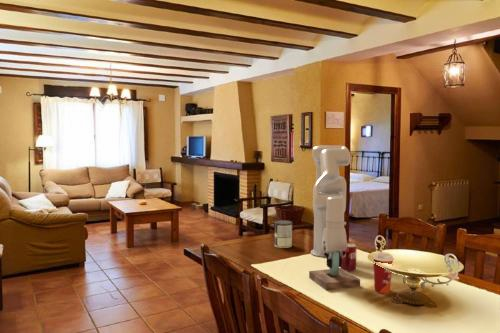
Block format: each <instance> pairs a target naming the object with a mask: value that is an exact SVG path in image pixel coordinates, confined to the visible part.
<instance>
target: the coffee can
mask: <svg viewBox="0 0 500 333" xmlns="http://www.w3.org/2000/svg"><path fill="white" fill-rule="evenodd" d="M292 246H293V221H291V220H287V219H286V220H283V219H282V220H281V219H280V220H275V221H274V247H276V248H278V249H279V248H280V249H285V248H286V249H287V248H292Z"/></svg>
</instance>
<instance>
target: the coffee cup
mask: <svg viewBox="0 0 500 333" xmlns="http://www.w3.org/2000/svg"><path fill="white" fill-rule="evenodd" d="M372 259H373V262H374V261H375V262H381V263H388V264H392V263H393V262H394V259H395V258H394V256H393V254H390V253H387V252H375V253H373V256H372ZM392 265H393V264H392ZM392 272H393V271H392ZM392 272H390V271H388V270H386V269H384V268H382V267H380V266H378V265H376V263H375V264H374V263H373V279H374V280H373V281H374V282H373V283H374V291H375V292H377V293H379V294H389V293H391V284H392V276H393V273H392Z"/></svg>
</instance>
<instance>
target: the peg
mask: <svg viewBox="0 0 500 333" xmlns="http://www.w3.org/2000/svg"><path fill="white" fill-rule="evenodd" d="M331 259H332V268H329V269H330V273H329V274H330V275H339V268H340V267H339V251H338V252H332V255H331Z"/></svg>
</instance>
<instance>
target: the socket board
mask: <svg viewBox="0 0 500 333" xmlns="http://www.w3.org/2000/svg"><path fill="white" fill-rule="evenodd" d="M308 272H309V273H308V278H309V279H310V280H312V281H313V282H314V283H315V284H317V285H318V286H320V287H321V288H322V289H324V290H325V291H331V290H341V289H348V288H355V287H356V288H358V287H361V279H360V278H358V277H357V276H355V275H353V274H352V273H351V272H347V271H345V270H343V269H342V268H341V267H339V275H330V274H329V273H330V268H329V269H318V270H309V271H308Z"/></svg>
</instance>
